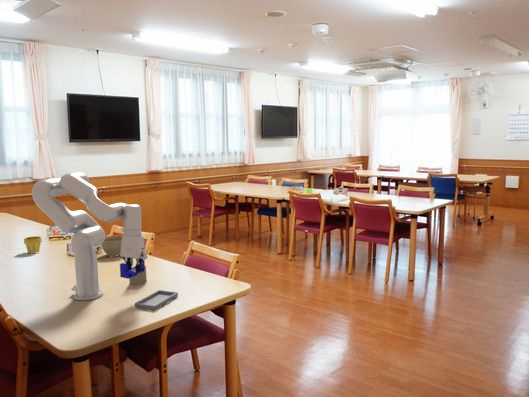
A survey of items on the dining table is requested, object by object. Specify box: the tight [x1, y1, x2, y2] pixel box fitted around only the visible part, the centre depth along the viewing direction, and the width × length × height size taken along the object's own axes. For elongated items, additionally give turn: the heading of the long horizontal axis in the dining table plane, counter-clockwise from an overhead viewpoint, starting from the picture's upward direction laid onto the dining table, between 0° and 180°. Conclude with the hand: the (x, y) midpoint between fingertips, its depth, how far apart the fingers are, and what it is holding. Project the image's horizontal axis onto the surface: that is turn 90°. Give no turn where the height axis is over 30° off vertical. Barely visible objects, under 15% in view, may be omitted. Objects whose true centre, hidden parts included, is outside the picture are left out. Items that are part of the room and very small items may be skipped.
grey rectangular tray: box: [134, 289, 179, 312], centre depth 200 cm, size 10×18×2 cm, turn 159°
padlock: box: [128, 256, 148, 286], centre depth 227 cm, size 4×8×15 cm, turn 132°
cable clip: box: [119, 260, 146, 280], centre depth 202 cm, size 12×4×6 cm, turn 151°
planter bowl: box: [100, 235, 123, 257], centre depth 283 cm, size 16×16×11 cm
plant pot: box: [23, 235, 43, 254], centre depth 293 cm, size 10×10×10 cm
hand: (133, 271), depth 202 cm, fingers closed on cable clip, 4 cm apart
